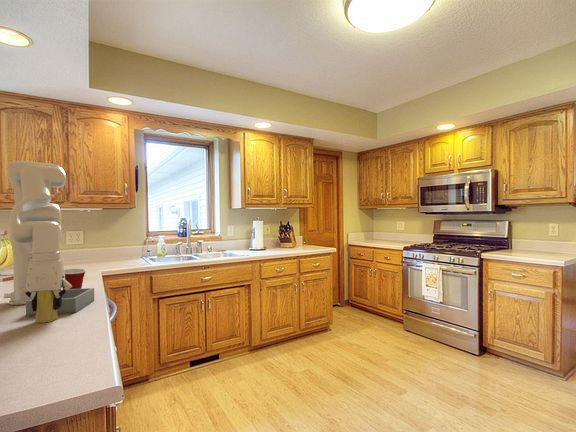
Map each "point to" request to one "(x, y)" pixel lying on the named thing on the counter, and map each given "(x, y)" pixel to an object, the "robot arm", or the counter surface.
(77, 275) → the plastic cup
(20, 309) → the counter surface
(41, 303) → the vase
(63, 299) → the box
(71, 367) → the counter surface
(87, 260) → the counter surface
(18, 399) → the counter surface
